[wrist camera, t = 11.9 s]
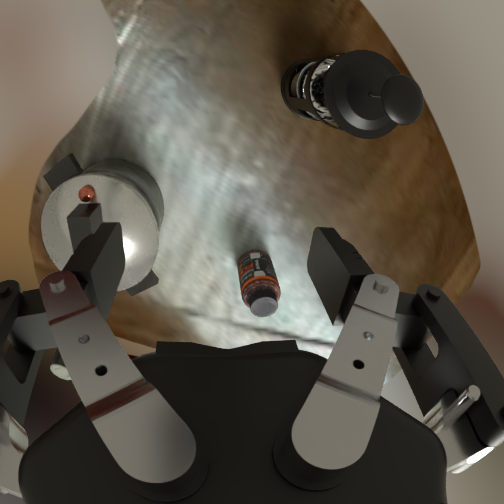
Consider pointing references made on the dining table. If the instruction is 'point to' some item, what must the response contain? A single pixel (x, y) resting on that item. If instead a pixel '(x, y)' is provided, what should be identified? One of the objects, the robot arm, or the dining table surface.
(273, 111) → the dining table surface
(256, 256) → the supplement bottle
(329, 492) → the robot arm
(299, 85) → the french press
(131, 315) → the dining table surface
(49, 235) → the cooker lid
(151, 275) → the cooker pot
